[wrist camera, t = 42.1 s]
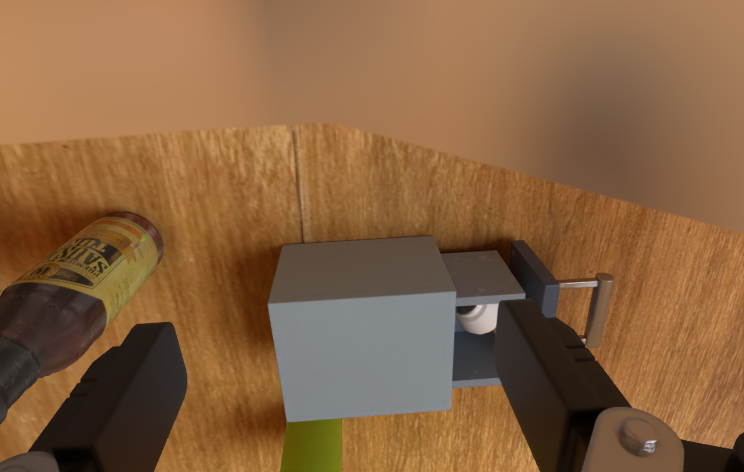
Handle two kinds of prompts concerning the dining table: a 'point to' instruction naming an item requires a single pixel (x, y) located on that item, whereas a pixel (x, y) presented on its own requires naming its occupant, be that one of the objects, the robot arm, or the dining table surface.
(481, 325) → the white jar
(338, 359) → the drawer unit
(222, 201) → the dining table surface
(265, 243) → the dining table surface
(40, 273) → the sauce bottle
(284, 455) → the soap dispenser
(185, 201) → the dining table surface
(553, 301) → the compartment
